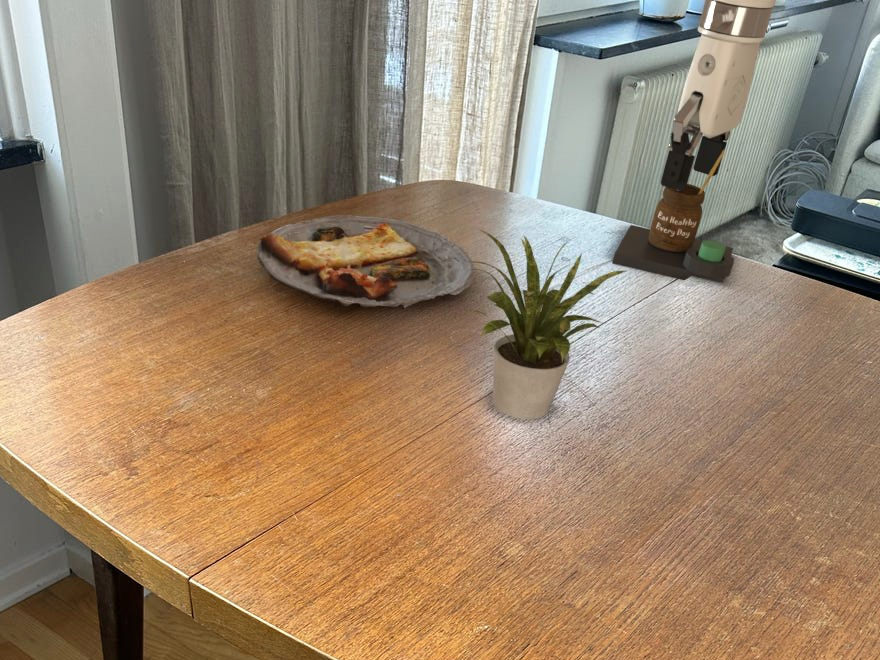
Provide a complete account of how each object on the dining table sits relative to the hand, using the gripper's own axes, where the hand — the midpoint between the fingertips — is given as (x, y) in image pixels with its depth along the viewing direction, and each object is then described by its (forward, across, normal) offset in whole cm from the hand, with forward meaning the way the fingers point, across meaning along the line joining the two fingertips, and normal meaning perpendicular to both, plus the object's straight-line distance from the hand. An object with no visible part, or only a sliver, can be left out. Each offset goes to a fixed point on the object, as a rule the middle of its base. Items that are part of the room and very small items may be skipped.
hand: (689, 180), depth 119 cm
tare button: (+7, -4, -7) cm, 10 cm away
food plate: (+10, -37, +22) cm, 44 cm away
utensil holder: (+8, 0, 0) cm, 8 cm away
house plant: (+10, -51, -7) cm, 53 cm away
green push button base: (+9, -1, -1) cm, 10 cm away
